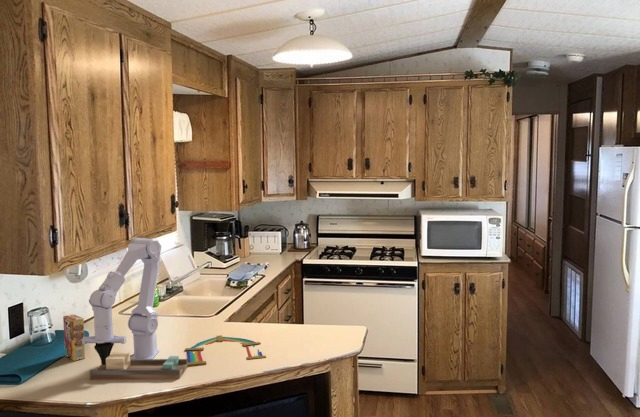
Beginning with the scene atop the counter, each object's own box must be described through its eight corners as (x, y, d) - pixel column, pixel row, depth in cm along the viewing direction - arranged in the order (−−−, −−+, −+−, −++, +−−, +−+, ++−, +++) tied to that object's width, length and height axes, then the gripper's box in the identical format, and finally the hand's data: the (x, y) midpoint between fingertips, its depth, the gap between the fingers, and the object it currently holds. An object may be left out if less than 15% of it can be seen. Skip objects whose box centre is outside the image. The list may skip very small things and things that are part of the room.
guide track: (102, 367, 189) (102, 355, 189) (187, 367, 189) (187, 354, 188) (90, 379, 179) (89, 366, 179) (179, 378, 179) (179, 365, 178)
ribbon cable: (184, 340, 218) (185, 366, 189) (183, 338, 218) (185, 364, 189) (255, 334, 226) (267, 358, 197) (255, 332, 226) (267, 355, 197)
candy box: (86, 358, 199) (84, 318, 198) (74, 361, 196) (72, 320, 195) (76, 352, 205) (73, 313, 204) (64, 355, 202) (62, 316, 201)
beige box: (113, 364, 187) (112, 352, 187) (130, 364, 187) (129, 352, 187) (106, 371, 181) (105, 358, 181) (123, 371, 181) (123, 358, 181)
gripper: (76, 328, 179) (79, 368, 180) (119, 328, 179) (121, 368, 180) (86, 322, 186) (88, 360, 187) (127, 322, 186) (129, 360, 187)
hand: (105, 363), depth 184 cm, fingers closed
